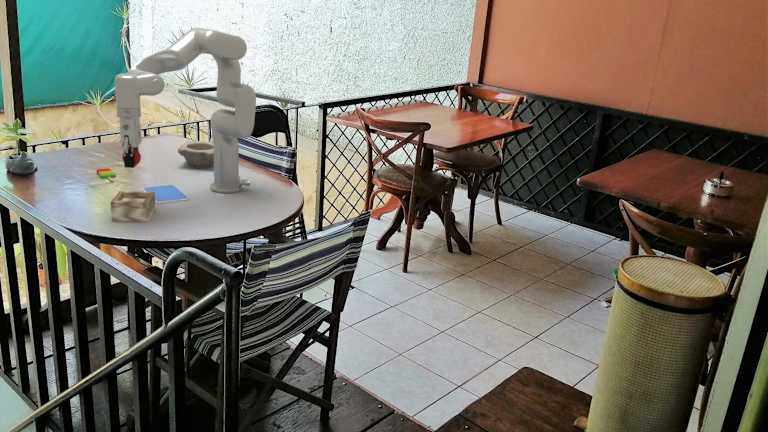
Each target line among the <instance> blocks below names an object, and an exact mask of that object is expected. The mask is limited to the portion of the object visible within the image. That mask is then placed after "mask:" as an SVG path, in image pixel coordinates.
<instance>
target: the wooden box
mask: <svg viewBox="0 0 768 432" xmlns="http://www.w3.org/2000/svg"><path fill="white" fill-rule="evenodd" d="M110 212H111V221H113V222H139V223H142V222H143V223H145V222H147V223H148V222H150V220H151V218H152V217H153V215H154V214H155V212H156V203H155V192H144V191H134V190H132V191H131V190H119V191H118V192H117V194H116V195H115V196H114V197H113V198H112V200H111V201H110Z"/></svg>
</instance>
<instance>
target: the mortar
mask: <svg viewBox="0 0 768 432" xmlns="http://www.w3.org/2000/svg"><path fill="white" fill-rule="evenodd" d="M177 152H178V154H179V155H180V157H181V156H182V157H183V158H184V160H185V161H186V163H187V165H188V166H190V168H191V167H192V168H196V169H207V168H211V167H214V143H213V142H212V141H204V140H188V141H187V142H184V143H182V144H181V145H180V147H178V149H177Z"/></svg>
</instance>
